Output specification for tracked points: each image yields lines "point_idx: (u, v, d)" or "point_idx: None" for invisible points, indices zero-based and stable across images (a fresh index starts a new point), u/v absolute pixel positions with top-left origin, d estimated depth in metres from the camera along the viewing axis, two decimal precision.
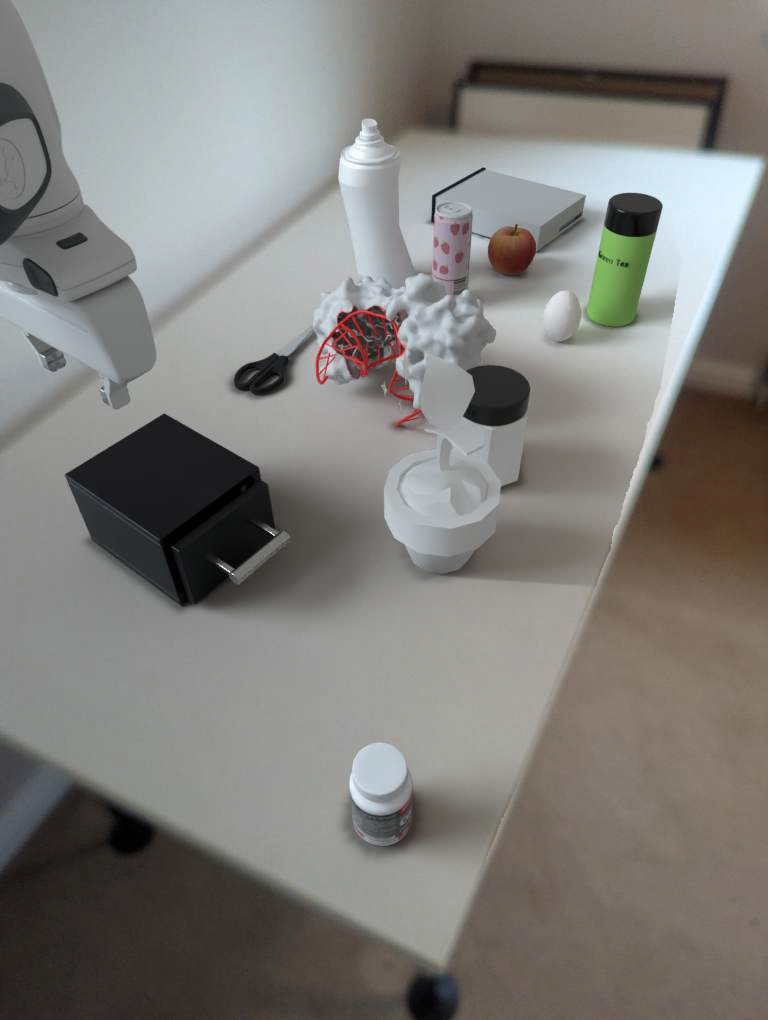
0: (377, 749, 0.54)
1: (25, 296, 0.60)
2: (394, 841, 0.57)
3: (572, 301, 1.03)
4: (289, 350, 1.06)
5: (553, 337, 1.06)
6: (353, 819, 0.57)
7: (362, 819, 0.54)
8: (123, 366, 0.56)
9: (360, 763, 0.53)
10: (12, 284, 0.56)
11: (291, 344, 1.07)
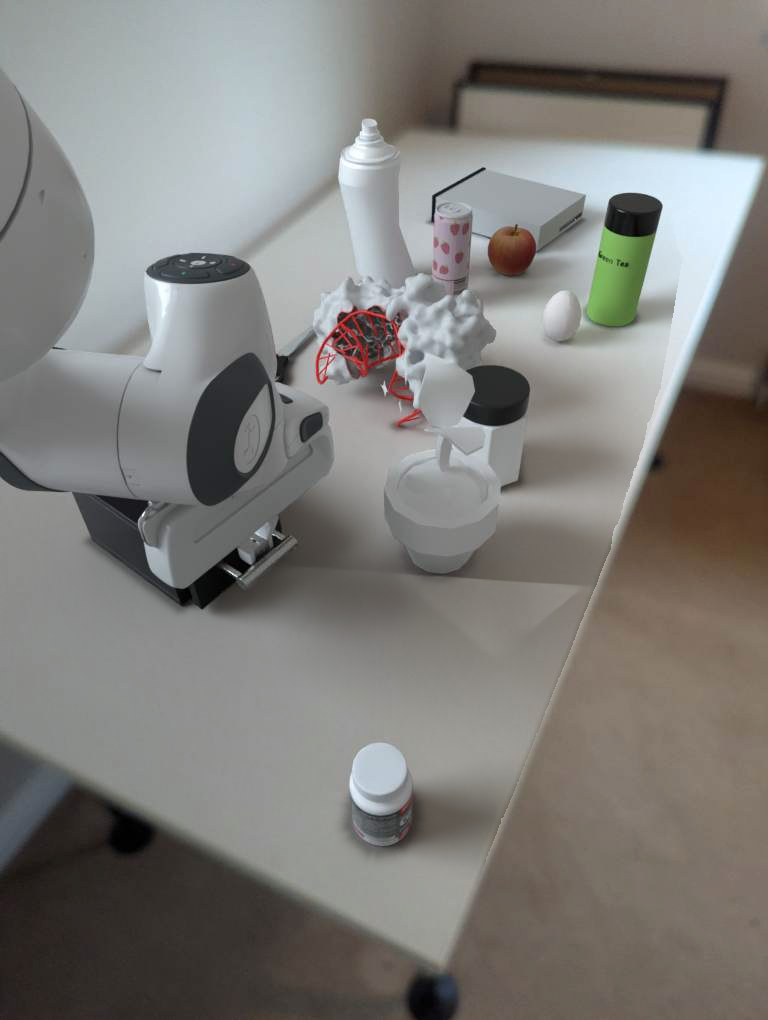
0: (377, 749, 0.54)
1: (241, 503, 0.63)
2: (394, 841, 0.57)
3: (572, 301, 1.03)
4: (289, 350, 1.06)
5: (553, 337, 1.06)
6: (353, 819, 0.57)
7: (362, 819, 0.54)
8: None
9: (360, 763, 0.53)
10: None
11: (291, 344, 1.07)
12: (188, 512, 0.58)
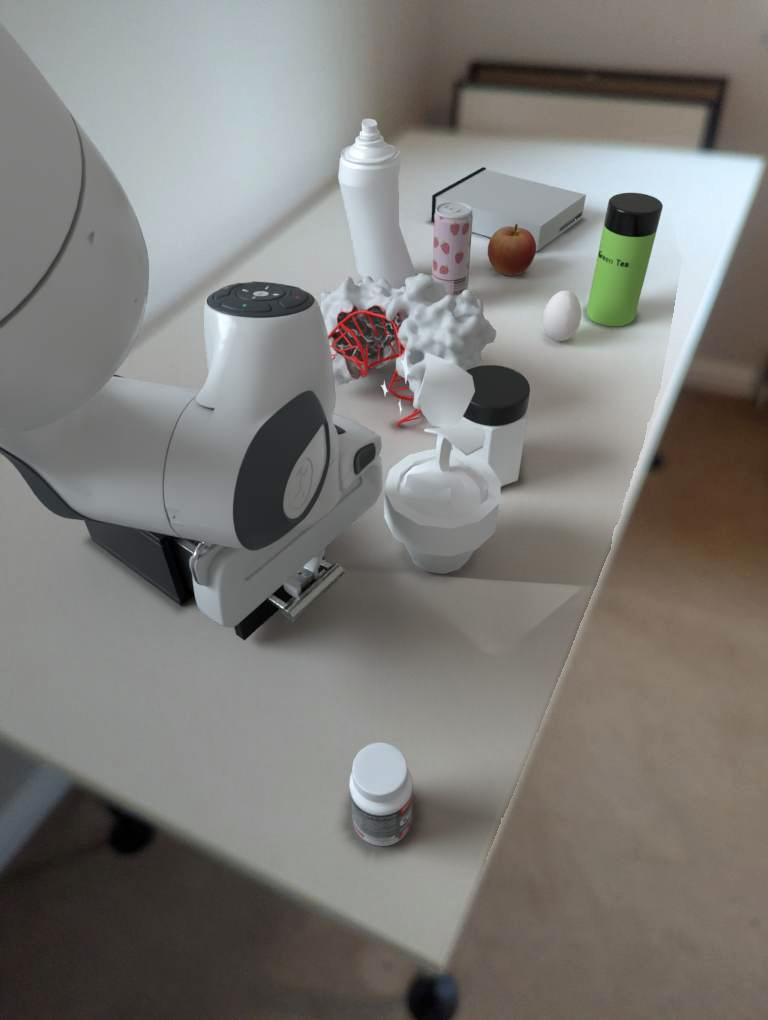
0: (377, 749, 0.54)
1: (292, 538, 0.61)
2: (394, 841, 0.57)
3: (572, 301, 1.03)
4: None
5: (553, 337, 1.06)
6: (353, 819, 0.57)
7: (362, 819, 0.54)
8: None
9: (360, 763, 0.53)
10: None
11: None
12: (241, 550, 0.55)
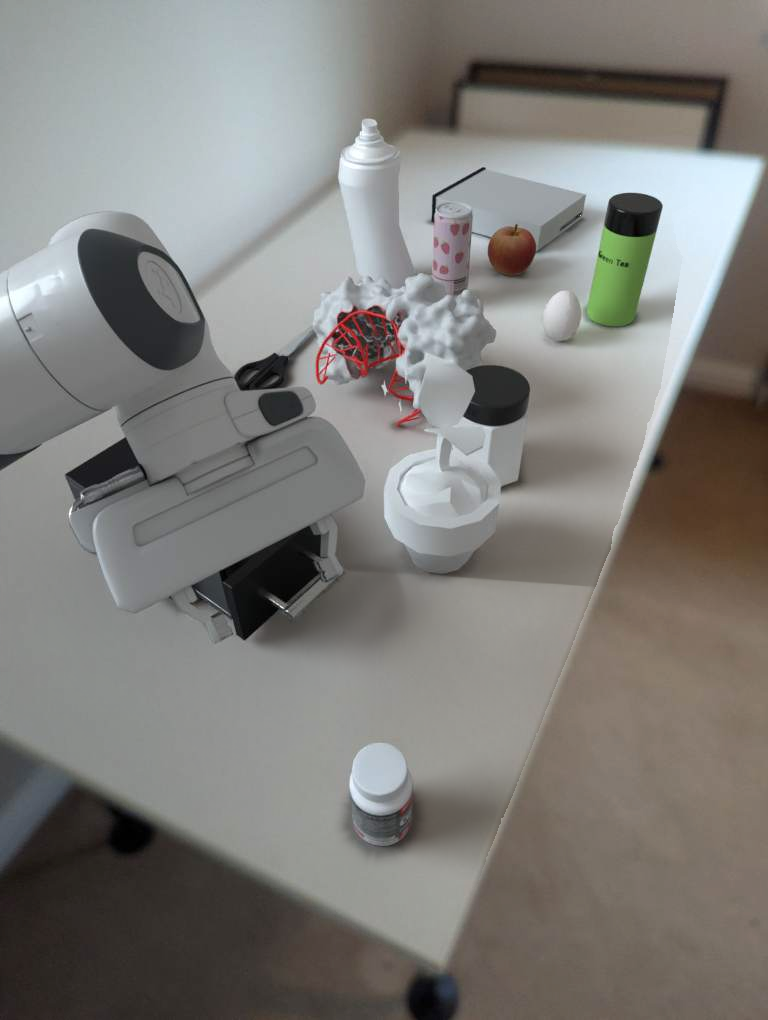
0: (377, 749, 0.54)
1: (210, 509, 0.52)
2: (394, 841, 0.57)
3: (572, 301, 1.03)
4: (289, 350, 1.06)
5: (553, 337, 1.06)
6: (353, 819, 0.57)
7: (362, 819, 0.54)
8: None
9: (360, 763, 0.53)
10: (226, 465, 0.51)
11: (291, 344, 1.07)
12: (120, 501, 0.50)
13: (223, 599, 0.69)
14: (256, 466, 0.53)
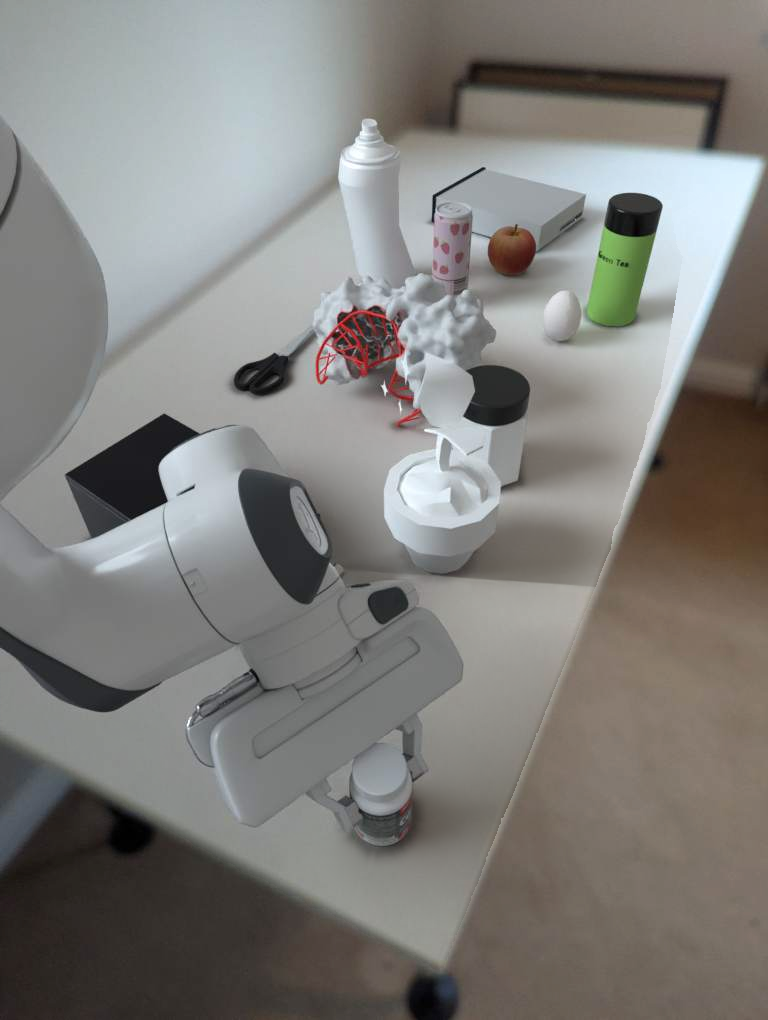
0: (377, 749, 0.54)
1: (323, 711, 0.52)
2: (394, 841, 0.57)
3: (572, 301, 1.03)
4: (289, 350, 1.06)
5: (553, 337, 1.06)
6: None
7: None
8: None
9: (359, 763, 0.53)
10: (340, 669, 0.51)
11: (291, 344, 1.07)
12: (238, 714, 0.50)
13: None
14: (364, 662, 0.54)
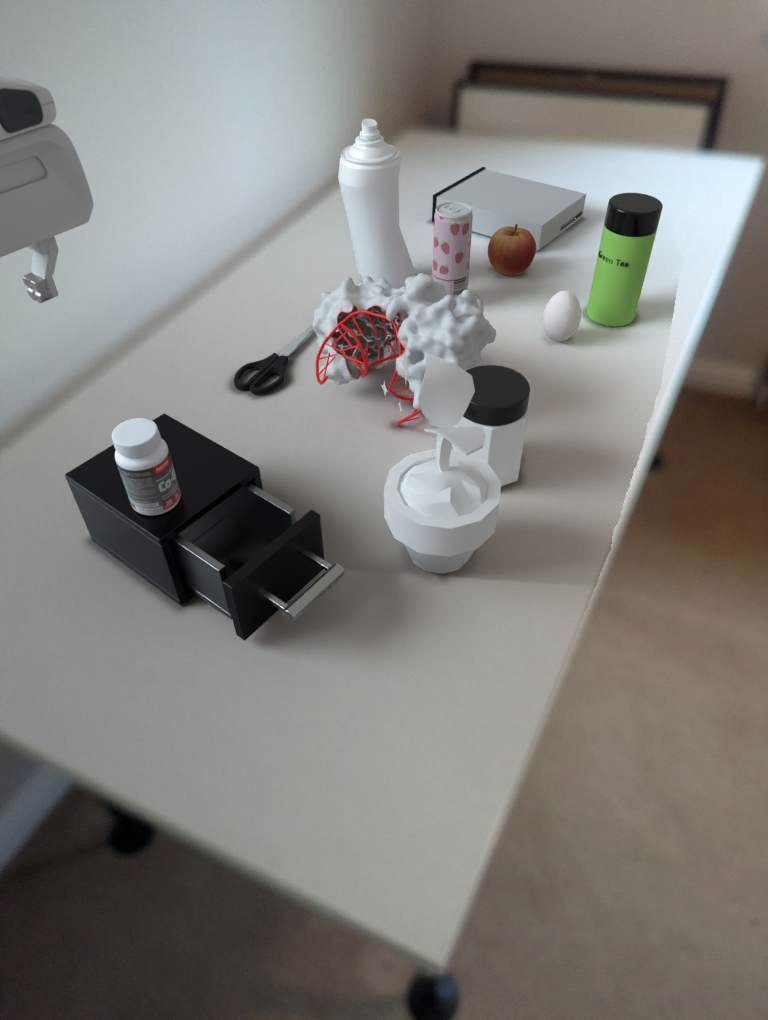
0: (136, 421, 0.66)
1: None
2: (160, 510, 0.69)
3: (572, 301, 1.03)
4: (289, 350, 1.06)
5: (553, 337, 1.06)
6: (127, 494, 0.69)
7: (126, 482, 0.67)
8: None
9: (119, 428, 0.65)
10: None
11: (291, 344, 1.07)
12: None
13: (223, 599, 0.69)
14: None
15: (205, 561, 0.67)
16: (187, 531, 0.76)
